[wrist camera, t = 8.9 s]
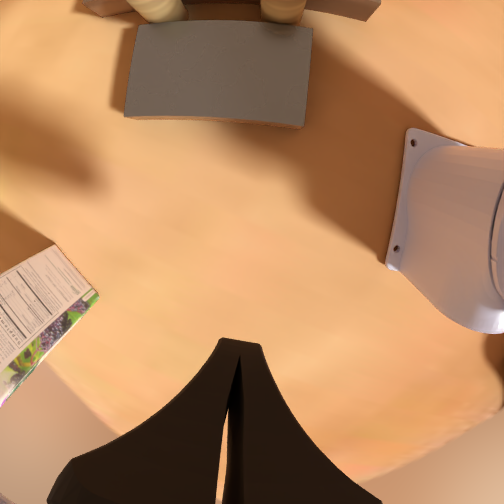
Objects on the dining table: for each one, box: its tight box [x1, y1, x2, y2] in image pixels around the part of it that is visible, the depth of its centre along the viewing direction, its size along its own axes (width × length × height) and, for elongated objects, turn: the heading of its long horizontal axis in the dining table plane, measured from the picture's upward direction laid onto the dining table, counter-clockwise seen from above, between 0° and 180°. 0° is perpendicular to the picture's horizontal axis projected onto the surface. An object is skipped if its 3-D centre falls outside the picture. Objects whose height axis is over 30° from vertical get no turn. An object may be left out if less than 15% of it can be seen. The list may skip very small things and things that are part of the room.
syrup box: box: [0, 244, 100, 407], centre depth 13 cm, size 6×6×14 cm
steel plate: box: [124, 20, 313, 129], centre depth 14 cm, size 6×10×2 cm, turn 84°
